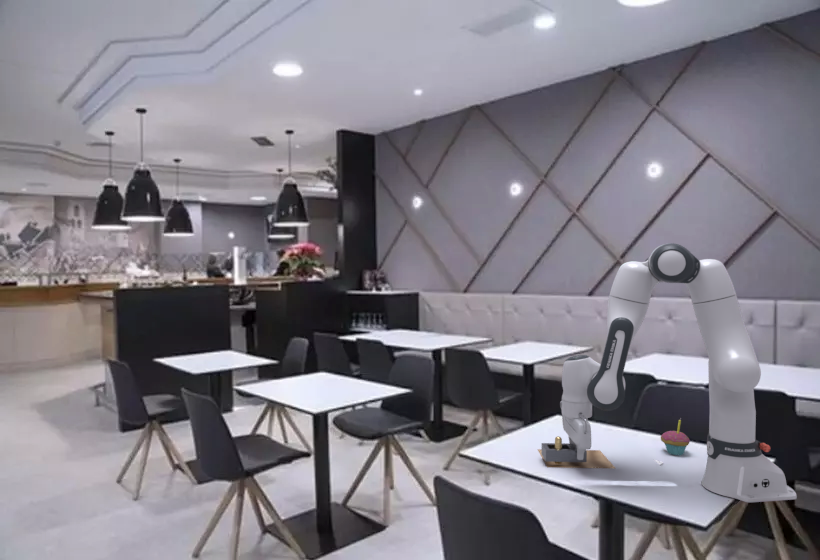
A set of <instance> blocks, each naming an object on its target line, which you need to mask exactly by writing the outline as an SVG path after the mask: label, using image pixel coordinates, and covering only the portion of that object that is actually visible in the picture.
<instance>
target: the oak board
mask: <svg viewBox="0 0 820 560" xmlns="http://www.w3.org/2000/svg"><path fill="white" fill-rule="evenodd" d="M586 451H587V462H562V463H561V464H556V463H555V462H546V461H545V459H544V458H543V456H542V454H541V452H542V448H541V449H540V448H539V449H537V452H538V453H539V455H540V457H541V458H542V460H543V462H544V464H545V466H546V467H547V468H553V469H554V468H555V469H556V468H557V469H558V468H561V469H562V468H563V469H564V468H565V469H566V468H567V469H573V468H574V469H617V468H616V466H614V464H613V463H612V462H611V461H610V460H609V458H607V457H606V455H605V454H604V453H603V452H602V451H601V450H600V449H598V450H597V449H595V450H594V449H586Z"/></svg>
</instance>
